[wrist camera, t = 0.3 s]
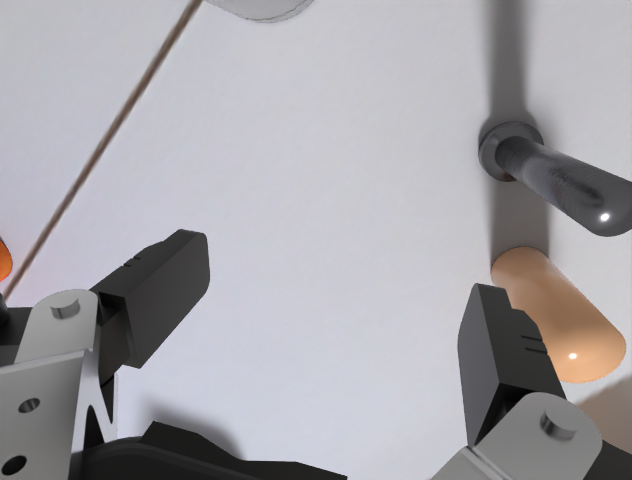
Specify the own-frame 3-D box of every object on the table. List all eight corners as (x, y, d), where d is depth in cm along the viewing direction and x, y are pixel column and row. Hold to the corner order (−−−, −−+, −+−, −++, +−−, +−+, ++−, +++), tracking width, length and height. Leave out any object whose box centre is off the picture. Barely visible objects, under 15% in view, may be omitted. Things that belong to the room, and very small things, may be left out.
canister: (487, 252, 31) (539, 328, 22) (547, 241, 30) (626, 315, 21) (493, 298, 32) (543, 387, 23) (550, 289, 31) (625, 377, 22)
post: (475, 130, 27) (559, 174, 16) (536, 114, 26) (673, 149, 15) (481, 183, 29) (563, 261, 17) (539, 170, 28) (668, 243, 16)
